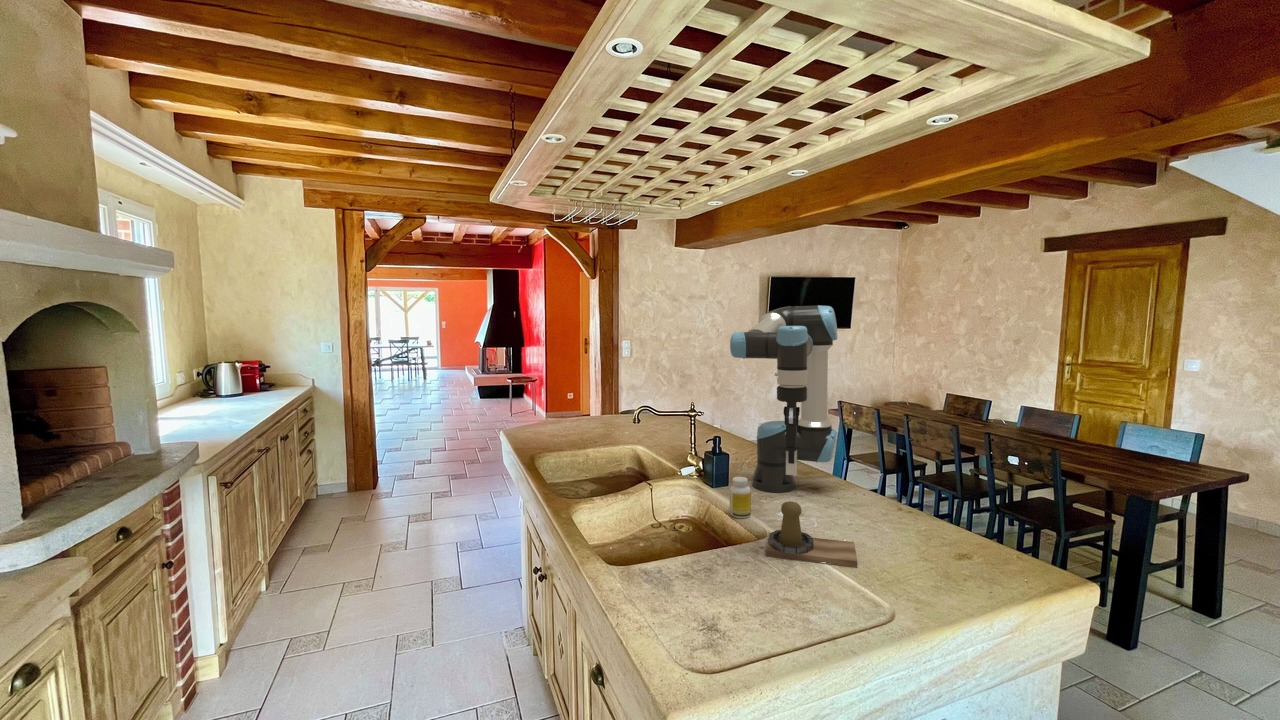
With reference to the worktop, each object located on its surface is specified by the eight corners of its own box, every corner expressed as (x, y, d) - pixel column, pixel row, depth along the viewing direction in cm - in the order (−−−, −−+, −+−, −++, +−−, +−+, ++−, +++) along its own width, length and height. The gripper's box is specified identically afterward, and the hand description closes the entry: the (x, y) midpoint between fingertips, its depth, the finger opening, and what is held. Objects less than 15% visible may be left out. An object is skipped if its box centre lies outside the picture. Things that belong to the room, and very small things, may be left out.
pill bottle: (752, 518, 159) (752, 482, 158) (731, 519, 159) (731, 482, 158) (748, 510, 166) (748, 475, 164) (728, 511, 166) (728, 475, 165)
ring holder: (770, 532, 145) (770, 527, 145) (813, 537, 142) (813, 532, 142) (767, 550, 135) (767, 545, 135) (813, 556, 131) (813, 550, 131)
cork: (800, 538, 141) (800, 499, 140) (804, 548, 135) (805, 507, 134) (777, 537, 142) (777, 498, 141) (781, 547, 136) (781, 507, 135)
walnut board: (769, 538, 146) (769, 532, 145) (853, 547, 139) (854, 542, 138) (766, 556, 135) (766, 550, 135) (857, 567, 128) (857, 561, 128)
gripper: (778, 381, 141) (778, 466, 144) (775, 388, 129) (774, 480, 131) (807, 382, 139) (806, 468, 141) (806, 389, 127) (805, 483, 129)
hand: (791, 474), depth 136 cm, fingers closed
